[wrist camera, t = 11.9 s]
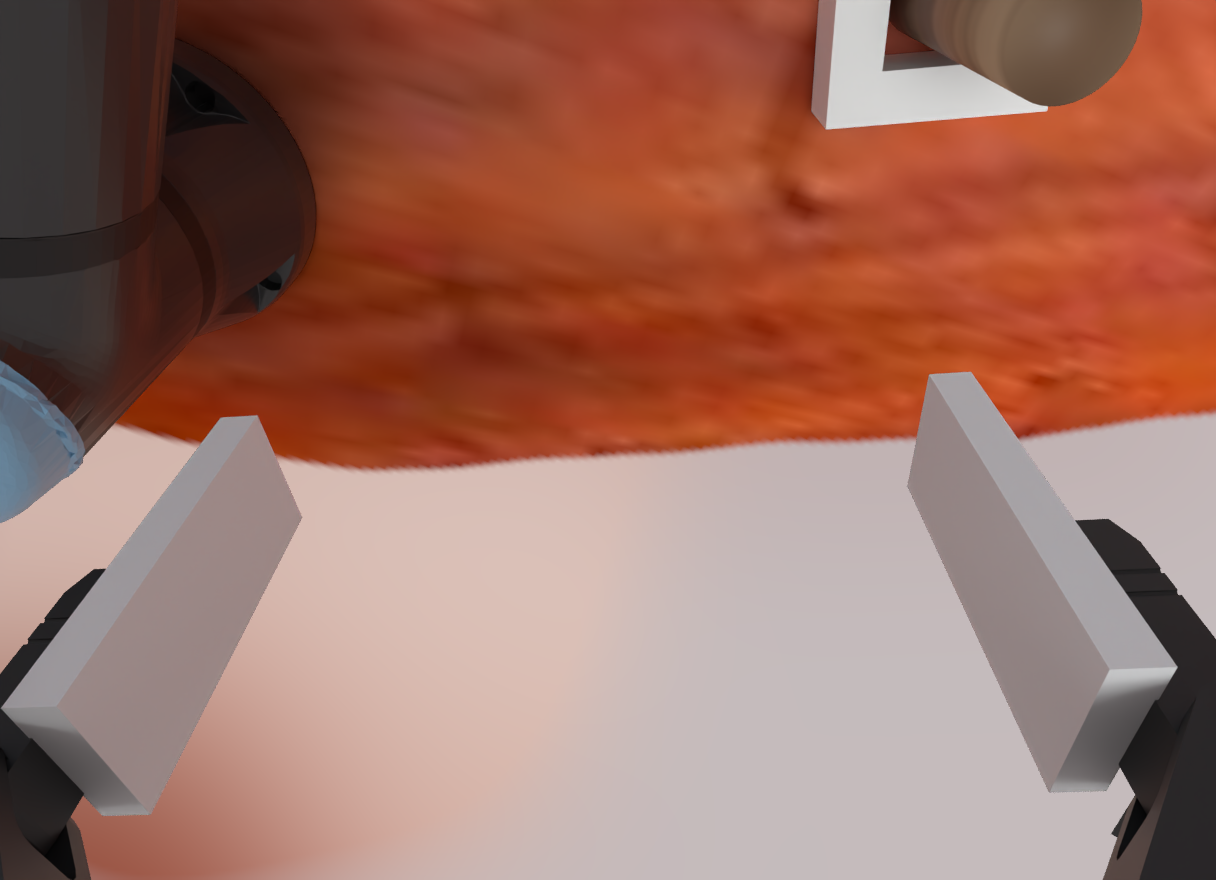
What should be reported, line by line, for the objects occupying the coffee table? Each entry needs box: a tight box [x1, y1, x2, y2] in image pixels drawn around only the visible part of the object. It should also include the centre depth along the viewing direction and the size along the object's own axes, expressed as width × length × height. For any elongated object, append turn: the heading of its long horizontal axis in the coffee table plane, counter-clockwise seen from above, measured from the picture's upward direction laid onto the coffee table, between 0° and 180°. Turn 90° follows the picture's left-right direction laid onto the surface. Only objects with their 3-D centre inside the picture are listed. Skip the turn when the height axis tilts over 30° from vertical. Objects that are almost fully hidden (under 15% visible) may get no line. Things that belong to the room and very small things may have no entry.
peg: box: [889, 0, 1142, 106], centre depth 29 cm, size 4×4×14 cm
